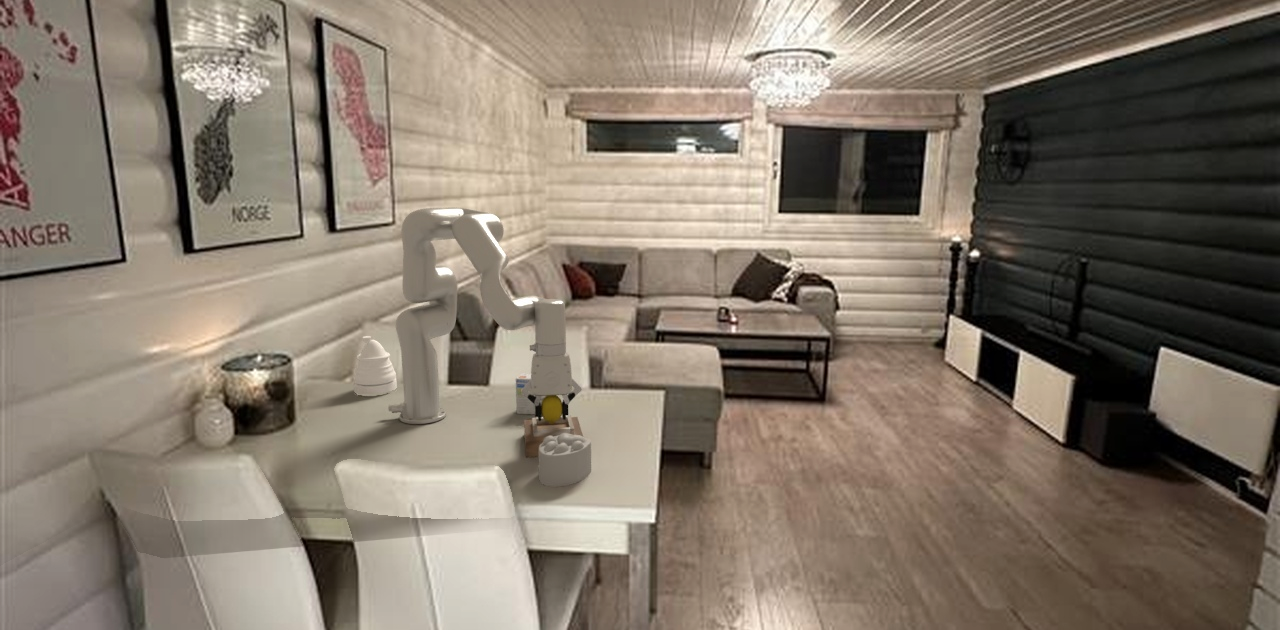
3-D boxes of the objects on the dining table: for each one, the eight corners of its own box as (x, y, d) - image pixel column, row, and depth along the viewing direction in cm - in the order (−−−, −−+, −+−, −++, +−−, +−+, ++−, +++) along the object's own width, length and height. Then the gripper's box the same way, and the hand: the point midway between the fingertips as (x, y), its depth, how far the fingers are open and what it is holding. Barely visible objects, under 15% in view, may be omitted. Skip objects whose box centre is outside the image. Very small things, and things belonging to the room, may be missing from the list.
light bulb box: (557, 408, 204) (556, 373, 202) (552, 415, 198) (551, 379, 196) (522, 407, 205) (521, 372, 203) (515, 414, 199) (514, 378, 197)
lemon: (566, 421, 177) (566, 391, 175) (557, 428, 172) (556, 397, 170) (547, 419, 179) (546, 389, 177) (537, 426, 173) (536, 395, 172)
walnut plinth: (526, 457, 167) (525, 435, 166) (524, 434, 182) (524, 414, 181) (583, 453, 170) (583, 432, 169) (577, 431, 185) (577, 411, 184)
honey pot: (371, 399, 213) (367, 342, 209) (345, 392, 220) (341, 337, 216) (405, 389, 223) (402, 334, 220) (380, 383, 230) (376, 330, 227)
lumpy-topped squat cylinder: (597, 468, 161) (596, 433, 159) (568, 490, 149) (567, 452, 147) (558, 461, 165) (558, 426, 163) (527, 482, 153) (526, 445, 152)
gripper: (515, 353, 166) (517, 425, 170) (586, 351, 170) (587, 421, 173) (515, 346, 174) (517, 415, 177) (583, 344, 177) (584, 412, 180)
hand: (551, 417), depth 175 cm, fingers closed on lemon, 5 cm apart
